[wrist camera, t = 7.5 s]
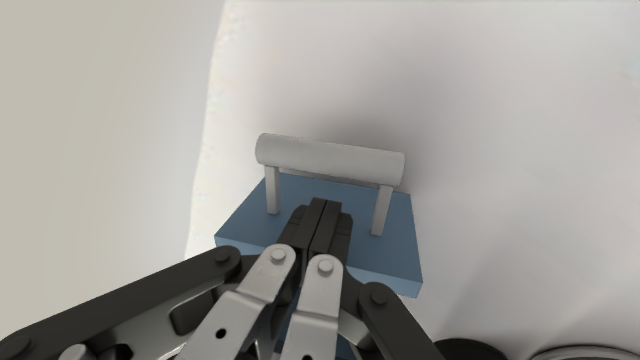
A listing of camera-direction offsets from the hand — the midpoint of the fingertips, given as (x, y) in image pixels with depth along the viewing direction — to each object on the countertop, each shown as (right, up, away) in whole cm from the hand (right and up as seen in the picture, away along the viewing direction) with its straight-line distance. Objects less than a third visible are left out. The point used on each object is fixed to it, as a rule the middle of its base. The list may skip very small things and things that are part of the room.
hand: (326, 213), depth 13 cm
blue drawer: (+1, -2, +7) cm, 8 cm away
